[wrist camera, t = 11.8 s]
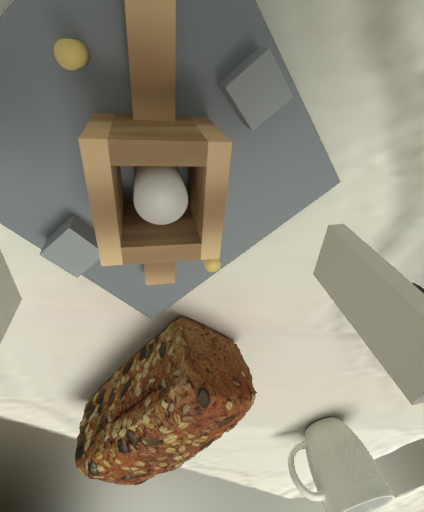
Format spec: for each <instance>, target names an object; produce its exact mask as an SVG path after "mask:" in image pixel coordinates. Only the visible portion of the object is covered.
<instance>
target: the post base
mask: <svg viewBox="0 0 424 512" xmlns="http://www.w3.org/2000/svg"><path fill="white" fill-rule="evenodd" d="M93 113H111V114H133V109H132V95H131V82H130V68H129V55H128V41H127V28H126V14H125V1H124V0H15V1H14V2H13V3H12V4H11V6H10V7H9V8H8V9H7V11H6V12H5V13H4V14H3V15H2V17H1V18H0V223H1V224H2V225H4V226H6V227H7V228H9V229H10V230H12V231H13V232H15V233H17V234H18V235H20V236H21V237H23V238H24V239H26V240H28V241H29V242H31V243H32V244H34V245H35V246H37V247H39V248H40V249H42V250H41V252H40V255H41V256H43V257H44V258H46V259H48V260H49V261H51V262H52V263H54V264H56V265H57V266H59V267H61V268H62V269H64V270H65V271H67V272H69V273H70V274H72V275H73V276H75V277H79V276H80V275H83V276H84V277H86V278H87V279H89V280H91V281H92V282H94V283H95V284H97V285H99V286H100V287H102V288H103V289H105V290H106V291H108V292H110V293H111V294H113V295H114V296H116V297H117V298H119V299H121V300H122V301H124V302H125V303H127V304H128V305H130V306H132V307H133V308H135V309H136V310H138V311H139V312H141V313H143V314H144V315H146V316H147V317H149V318H151V319H153V318H154V317H156V316H157V315H158V314H160V313H161V312H163V311H164V310H165V309H167V308H168V307H169V306H171V305H172V304H174V303H175V302H176V301H178V300H179V299H180V298H182V297H183V296H185V295H186V294H187V293H189V292H190V291H191V290H193V289H194V288H196V287H197V286H198V285H200V284H201V283H202V282H204V281H205V280H207V279H208V278H209V277H211V276H212V275H213V274H215V273H216V272H218V271H219V270H220V269H222V268H223V267H224V266H226V265H227V264H229V263H230V262H231V261H233V260H234V259H235V258H237V257H238V256H240V255H241V254H242V253H244V252H245V251H246V250H248V249H249V248H251V247H252V246H253V245H255V244H256V243H257V242H259V241H260V240H262V239H263V238H264V237H266V236H267V235H268V234H270V233H271V232H273V231H274V230H275V229H277V228H278V227H279V226H281V225H282V224H283V223H285V222H286V221H288V220H289V219H290V218H292V217H293V216H294V215H296V214H297V213H299V212H300V211H301V210H303V209H304V208H305V207H307V206H308V205H310V204H311V203H312V202H314V201H315V200H316V199H318V198H319V197H321V196H322V195H323V194H325V193H326V192H327V191H329V190H330V189H332V188H333V187H334V186H336V185H337V184H338V183H340V180H339V178H338V176H337V174H336V172H335V169H334V167H333V165H332V163H331V161H330V159H329V157H328V155H327V152H326V150H325V148H324V146H323V144H322V142H321V140H320V137H319V135H318V133H317V131H316V129H315V127H314V125H313V123H312V120H311V118H310V116H309V114H308V112H307V110H306V108H305V106H304V103H303V101H302V99H301V97H300V95H299V93H298V91H297V89H296V86H295V84H294V82H293V80H292V78H291V76H290V74H289V71H288V69H287V67H286V65H285V63H284V61H283V59H282V57H281V54H280V52H279V50H278V48H277V46H276V44H275V42H274V40H273V37H272V35H271V33H270V31H269V29H268V27H267V25H266V23H265V20H264V18H263V16H262V14H261V12H260V10H259V8H258V5H257V3H256V1H255V0H176V62H175V116H183V117H207V118H209V119H210V120H211V121H212V122H213V123H214V124H215V125H216V126H217V127H218V128H219V129H220V130H221V131H222V132H223V133H224V134H225V135H226V136H227V137H228V138H229V139H230V140H231V141H232V151H231V160H230V169H229V178H228V187H227V196H226V205H225V214H224V223H223V232H222V241H221V250H220V259H207V260H192V261H176V262H175V283H169V284H156V285H145V271H144V264H129V265H113V266H101V262H100V257H99V251H98V246H97V240H96V235H95V229H94V223H93V218H92V212H91V207H90V201H89V196H88V190H87V185H86V179H85V174H84V168H83V162H82V157H81V151H80V146H79V140H78V138H79V136H80V135H81V133H82V131H83V130H84V128H85V127H86V125H87V123H88V122H89V120H90V118H91V117H92V115H93ZM120 168H121V177H122V186H123V196H124V202H134V206H135V209H136V211H137V213H138V214H139V215H140V216H141V217H142V218H143V219H144V220H146V221H148V222H150V223H153V224H157V225H164V224H169V223H172V222H174V221H176V220H178V219H179V218H180V217H181V216H182V215H183V214H184V212H185V210H186V208H187V205H188V166H120Z"/></svg>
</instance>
